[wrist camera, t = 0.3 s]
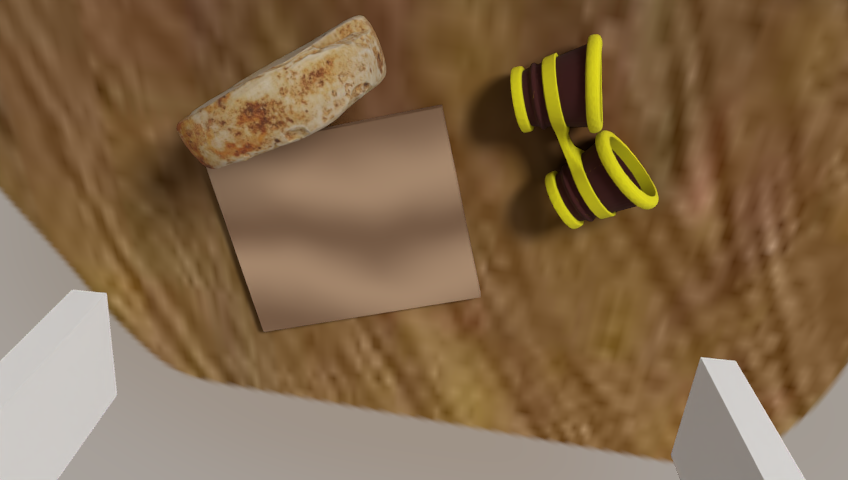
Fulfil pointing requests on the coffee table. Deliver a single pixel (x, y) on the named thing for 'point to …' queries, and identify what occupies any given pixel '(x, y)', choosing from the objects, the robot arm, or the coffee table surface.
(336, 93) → the stone disc
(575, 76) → the opera glasses
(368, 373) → the coffee table surface
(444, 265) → the walnut board
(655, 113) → the coffee table surface
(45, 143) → the coffee table surface
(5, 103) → the coffee table surface
